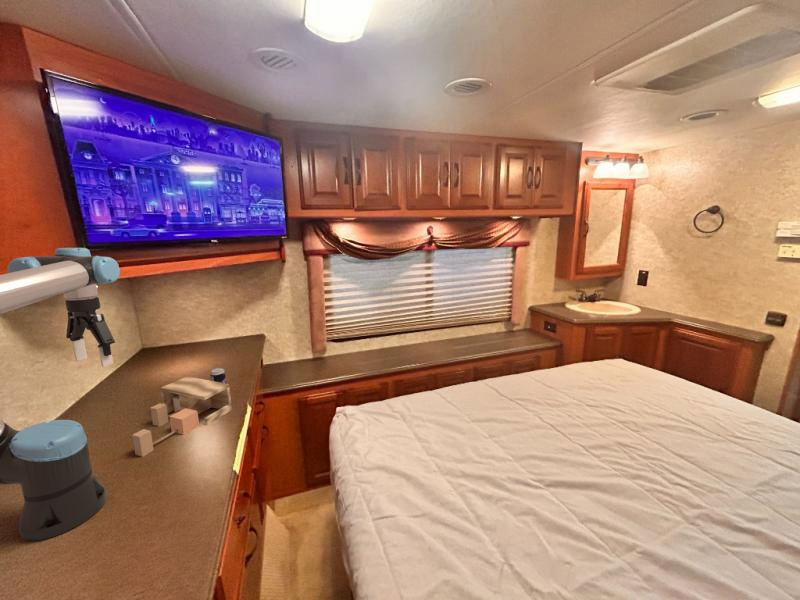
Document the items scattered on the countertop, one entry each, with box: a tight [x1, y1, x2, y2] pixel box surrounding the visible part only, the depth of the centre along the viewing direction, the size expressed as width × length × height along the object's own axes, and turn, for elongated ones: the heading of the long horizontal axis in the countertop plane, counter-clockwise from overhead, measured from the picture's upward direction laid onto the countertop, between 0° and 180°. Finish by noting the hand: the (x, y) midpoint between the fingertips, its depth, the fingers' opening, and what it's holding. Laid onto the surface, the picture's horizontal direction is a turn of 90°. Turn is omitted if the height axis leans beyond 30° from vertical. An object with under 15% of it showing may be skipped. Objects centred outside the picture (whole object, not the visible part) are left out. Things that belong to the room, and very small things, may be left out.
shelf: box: [160, 376, 233, 425], centre depth 126 cm, size 11×23×11 cm, turn 71°
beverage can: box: [209, 367, 227, 384], centre depth 140 cm, size 6×6×12 cm
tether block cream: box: [150, 396, 181, 427], centre depth 124 cm, size 15×6×7 cm, turn 161°
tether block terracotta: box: [131, 408, 200, 458], centre depth 109 cm, size 19×6×7 cm, turn 161°
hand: (94, 362), depth 103 cm, fingers open, 13 cm apart
